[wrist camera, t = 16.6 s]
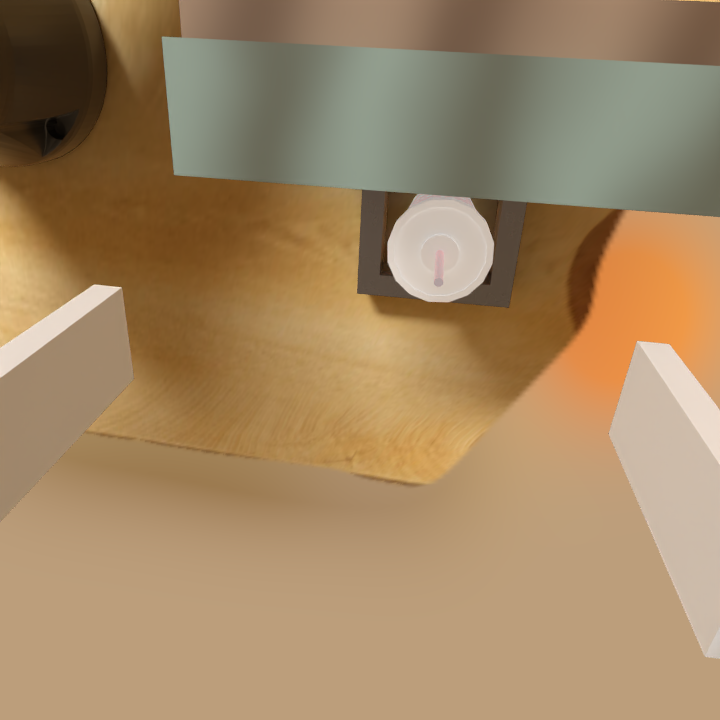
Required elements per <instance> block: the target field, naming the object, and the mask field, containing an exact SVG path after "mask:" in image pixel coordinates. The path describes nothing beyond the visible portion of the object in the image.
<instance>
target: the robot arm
mask: <svg viewBox="0 0 720 720" xmlns="http://www.w3.org/2000/svg"><path fill="white" fill-rule="evenodd" d="M106 82H107V62H106V53H105V46H104V41H103V37H102V33H101V29H100V26H99V23H98V20H97V17H96V14H95V12H94V10H93V7H92V5H91V3H90V1H89V0H0V166H9V167H18V166H28V165H33V164H37V163H41V162H45V161H49V160H53V159H56V158H58V157H61V156H63V155H65V154H67V153H68V152H70V151H71V150H73V149H74V148H76V147H77V146H78V145H79V144H80V143H81V142H82V141H83V140H84V139H85V138H86V137H87V135H88V134H89V133H90V131H91V130H92V128H93V127H94V125H95V123H96V121H97V119H98V116H99V114H100V111H101V108H102V105H103V101H104V97H105V91H106ZM133 379H134V374H133V366H132V359H131V351H130V344H129V336H128V329H127V321H126V314H125V306H124V298H123V291H122V287H114V286H104V285H95V284H94V285H93V286H91V287H90V288H88V289H87V290H85V291H84V292H82V293H81V294H79V295H78V296H76V297H75V298H73V299H72V300H70V301H69V302H67V303H66V304H64V305H63V306H61V307H60V308H59V309H57V310H56V311H54V312H53V313H51V314H50V315H48V316H47V317H45V318H44V319H42V320H41V321H39V322H38V323H36V324H35V325H33V326H32V327H30V328H29V329H27V330H26V331H24V332H23V333H22V334H20V335H19V336H17V337H16V338H14V339H13V340H11V341H10V342H8V343H7V344H5V345H4V346H2V347H1V348H0V522H1V521H2V520H3V519H4V518H5V516H6V515H7V514H8V513H9V512H10V511H11V510H12V509H13V508H14V507H15V506H16V505H17V504H18V502H20V500H21V499H22V498H23V497H24V496H25V495H26V494H27V493H28V492H29V491H30V490H31V489H32V488H33V487H34V485H35V484H36V483H37V482H38V481H39V480H40V479H41V478H42V477H43V476H44V475H45V474H46V473H47V472H48V470H49V469H50V468H51V467H52V466H53V465H54V464H55V463H56V462H57V461H58V460H59V459H60V458H61V457H62V455H63V454H64V453H65V452H66V451H67V450H68V449H69V448H70V447H71V446H72V445H73V443H75V441H77V439H78V438H79V437H80V436H81V435H82V434H83V433H84V432H85V431H86V430H87V429H88V428H89V427H90V426H91V424H92V423H93V422H94V421H95V420H96V419H97V418H98V417H99V416H100V415H101V414H102V413H103V412H104V411H105V409H106V408H107V407H108V406H109V405H110V404H111V403H112V402H113V401H114V400H115V399H116V398H117V397H118V396H119V394H120V393H121V392H122V391H123V390H124V389H125V388H126V387H127V386H128V385H129V384H130V383H131V382H132V381H133ZM609 436H610V438H611V441H612V443H613V445H614V448H615V450H616V452H617V455H618V457H619V459H620V462H621V464H622V466H623V469H624V471H625V473H626V475H627V478H628V480H629V482H630V485H631V487H632V489H633V492H634V494H635V496H636V499H637V501H638V503H639V505H640V508H641V510H642V512H643V515H644V517H645V519H646V522H647V524H648V526H649V529H650V531H651V533H652V535H653V538H654V540H655V542H656V545H657V547H658V549H659V552H660V554H661V556H662V559H663V561H664V563H665V566H666V568H667V570H668V573H669V575H670V577H671V580H672V582H673V584H674V586H675V589H676V591H677V593H678V596H679V598H680V600H681V603H682V605H683V607H684V610H685V612H686V614H687V617H688V619H689V621H690V624H691V626H692V628H693V630H694V633H695V635H696V638H697V640H698V642H699V644H700V647H701V649H702V651H703V654H704V656H705V657H711V658H718V659H720V410H719V408H718V407H717V405H716V404H715V403H714V402H713V400H712V399H711V398H710V396H709V395H708V394H707V392H706V391H705V390H704V389H703V387H702V386H701V385H700V384H699V382H698V381H697V380H696V378H695V377H694V376H693V374H692V373H691V372H690V370H689V369H688V368H687V367H686V365H685V364H684V363H683V362H682V360H681V359H680V357H679V356H678V355H677V354H676V352H675V351H674V350H673V348H672V347H671V346H670V344H663V343H652V342H643V341H637V343H636V346H635V349H634V353H633V356H632V359H631V363H630V366H629V369H628V372H627V375H626V379H625V382H624V385H623V388H622V392H621V395H620V398H619V401H618V405H617V408H616V412H615V415H614V418H613V421H612V424H611V428H610V431H609Z"/></svg>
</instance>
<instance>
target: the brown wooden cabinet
mask: <svg viewBox="0 0 720 720" xmlns="http://www.w3.org/2000/svg"><path fill="white" fill-rule="evenodd" d="M179 9H180V22H181V36H182V38H180V37H162V47H163V58H164V69H165V80H166V91H167V102H168V113H169V125H170V136H171V147H172V158H173V169H174V175H179V176H192V177H205V178H218V179H231V180H245V181H258V182H271V183H284V184H297V185H310V186H323V187H336V188H349V189H362V190H375V191H388V192H401V193H414V194H427V195H440V196H453V197H466V198H479V199H492V200H505V201H519V202H532V203H545V204H558V205H571V206H584V207H597V208H610V209H623V210H636V211H649V212H663V213H675V214H689V215H702V216H714V217H720V2H700V1H677V0H179Z"/></svg>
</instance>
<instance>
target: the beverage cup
mask: <svg viewBox="0 0 720 720" xmlns="http://www.w3.org/2000/svg"><path fill="white" fill-rule="evenodd" d="M493 251H494V241H493V238H492V235H491V233H490V230H489V227H488V224H487V222H486V220H485V219H484V218H483V217H482V216H481V215H480V214H479V213H478V212H477V211H476V209H475V207H474V205H473V203H472V201H471V198H466V197H453V196H440V195H427V194H417V195H416V196H415V197H414V199H413V201H412V203H411V205H410V206H409V208H408V210H407V211H406V212H405V213H404V214H403V215H402V216H401V217H400V218H399V219H398V220H397V221H396V223H395V225H394V228H393V230H392V232H391V235H390V237H389V240H388V264H389V267H390V269H391V271H392V273H393V276H394V278H395V280H396V281H397V282H398V283H399V284H400V285H401V286H402V287H403V288H404V289H405V290H406V291H407V292H408V293H409V294H410V295H413V296H415V297H418V298H420V299H423V300H425V301H427V302H451V301H453V300H456V299H459V298H462V297H464V296H467V295H469V294H470V293H471V292H472V291H473V290H474V289H476V288H477V287H478V286H479V285H480V284H481V283H483V281H484V279H485V277H486V276H487V274H488V272H489V270H490V268H491V266H492V264H493Z"/></svg>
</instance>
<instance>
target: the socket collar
mask: <svg viewBox="0 0 720 720" xmlns="http://www.w3.org/2000/svg"><path fill="white" fill-rule="evenodd" d="M388 195H389V192H388V191H375V190H362V206H361V226H360V247H359V267H358V288H357V293H358V294H368V295H379V296H390V297H400V298H411V299H420V298H418V297H415V296H413V295H410V294H409V293H408V292H407V291H406V290H405V289H404V288H403V287H402V286H401V285H400V284H399V283H398V282H397V281H396V280H395V278H394V276H393V273H392V271H391V269H390V267H389V264H388V263H387V262H384V253H385V239H386V224H387V209H388ZM526 206H527V202H519V201H505V200H498V207H497V214H496V220H495V227H494V233H493V241H494V251H493V264H492V266H491V268H490V270H489V272H488V274H487V276H486V277H485V279H484V281H483V283H481V284H480V285H479V286H478V287H477V288H476V289H474V290H473V291H472V292H471V293H470V294H469V295H467V296H464V297H462V298H459V299H456V300H453V301H451V302H454V303H464V304H475V305H485V306H496V307H507V308H509V304H510V298H511V292H512V287H513V281H514V275H515V269H516V263H517V258H518V252H519V246H520V240H521V235H522V229H523V223H524V217H525V211H526ZM422 300H423V299H422Z"/></svg>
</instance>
